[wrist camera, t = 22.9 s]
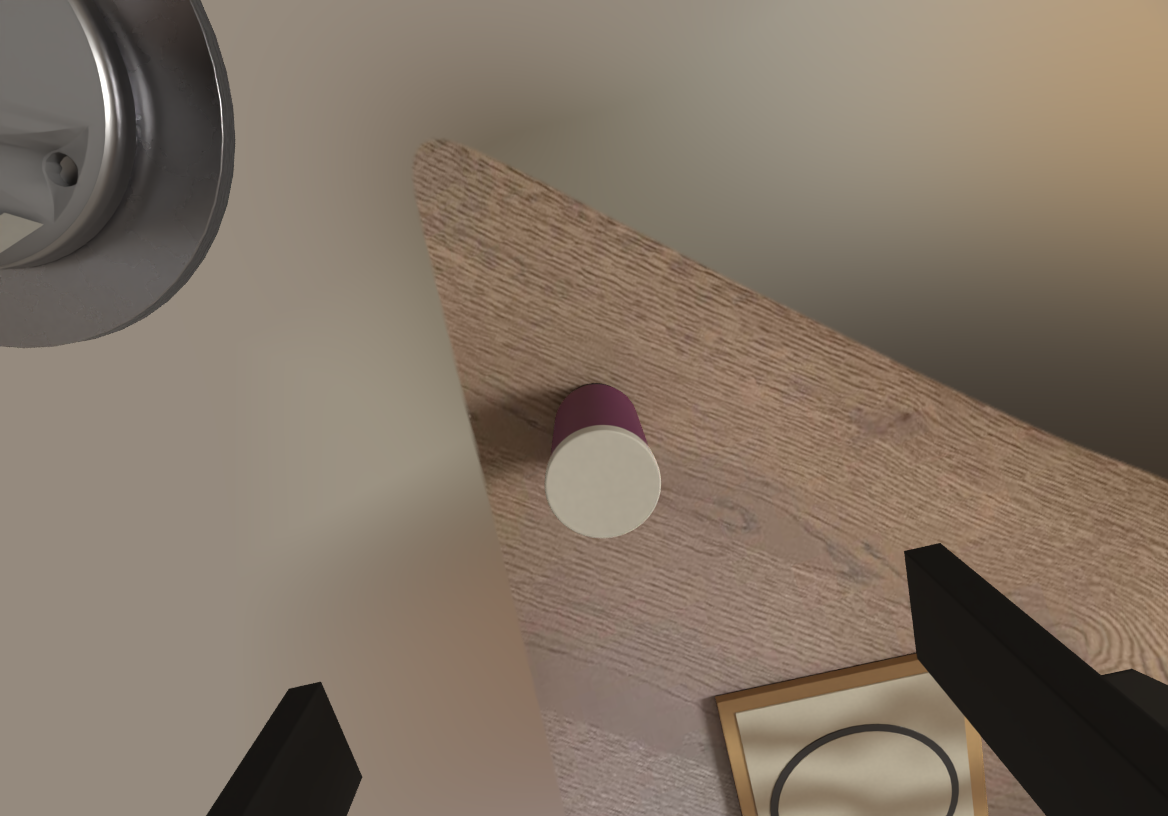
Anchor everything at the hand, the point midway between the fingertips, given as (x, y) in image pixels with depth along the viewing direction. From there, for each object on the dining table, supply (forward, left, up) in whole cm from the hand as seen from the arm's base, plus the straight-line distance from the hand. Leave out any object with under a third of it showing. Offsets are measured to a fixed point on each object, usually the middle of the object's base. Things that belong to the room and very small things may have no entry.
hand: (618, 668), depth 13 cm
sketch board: (+30, +11, -21) cm, 38 cm away
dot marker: (0, 0, -21) cm, 21 cm away
